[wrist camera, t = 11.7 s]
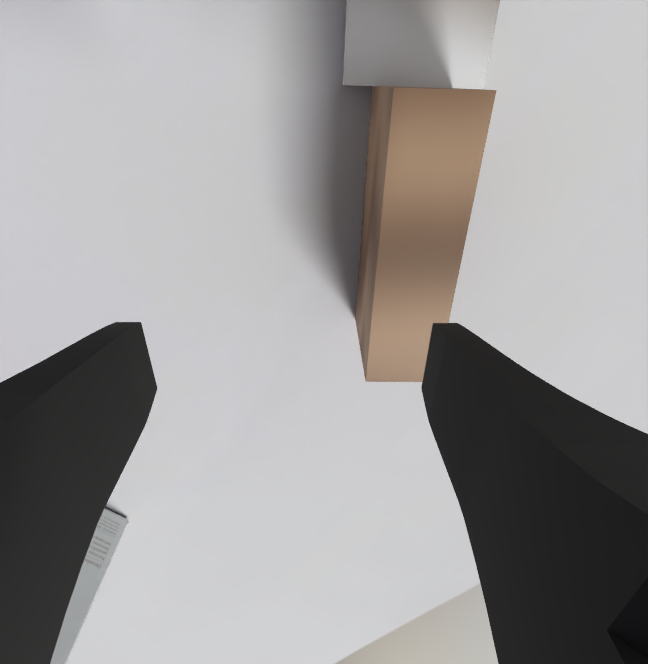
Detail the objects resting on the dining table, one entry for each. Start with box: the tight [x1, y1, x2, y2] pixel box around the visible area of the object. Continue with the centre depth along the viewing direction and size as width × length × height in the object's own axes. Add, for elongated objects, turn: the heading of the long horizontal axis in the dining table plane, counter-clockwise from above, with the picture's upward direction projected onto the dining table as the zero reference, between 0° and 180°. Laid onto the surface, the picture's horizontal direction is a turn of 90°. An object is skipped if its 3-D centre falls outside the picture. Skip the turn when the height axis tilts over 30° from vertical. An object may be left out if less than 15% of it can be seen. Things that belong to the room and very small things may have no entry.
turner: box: [343, 0, 500, 382], centre depth 14 cm, size 17×5×5 cm, turn 179°
